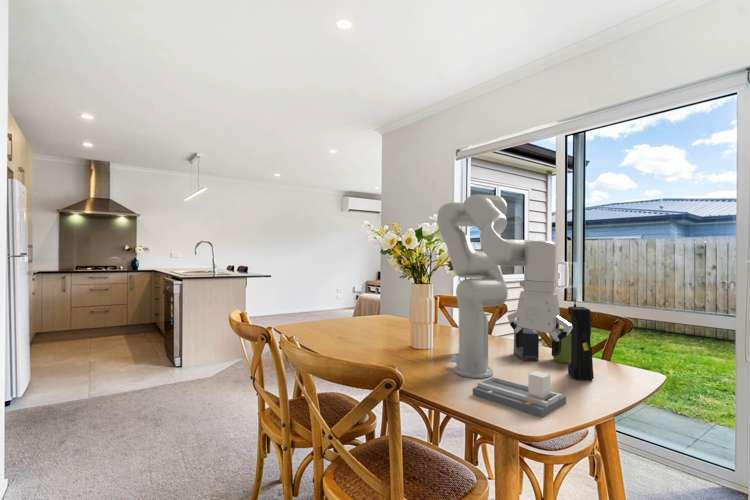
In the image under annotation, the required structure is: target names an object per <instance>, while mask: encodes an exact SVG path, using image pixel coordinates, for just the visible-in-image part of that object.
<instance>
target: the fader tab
mask: <svg viewBox="0 0 750 500" xmlns="http://www.w3.org/2000/svg"><path fill="white" fill-rule="evenodd" d="M527 385H528V393H527V396H530V397H533V398H537V399H540V400H546V399H548V398H550V397H552V393H551V392H550V391H551V374H549V373H546V372H540V371H538V370H537V371H536V370H535V371H532V372H530V373H528V384H527Z"/></svg>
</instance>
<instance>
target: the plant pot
mask: <svg viewBox="0 0 750 500" xmlns="http://www.w3.org/2000/svg"><path fill="white" fill-rule="evenodd" d="M563 330H564V327H559V331H560V333H562V332H563ZM548 335H549V336H548V337H549V338H550V345H551V347H552V341H554V338H553V337H552V336H551V334H550V333H548ZM552 358H553V360H554V361H555V362H558V363H562V364H566V363H567V364H570V363H571V331H570V333H569V335H568V336H566V337H565V338H564V339H563V340H561V353H560V354H559V355H558V356H555V357H554V356H552Z"/></svg>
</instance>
